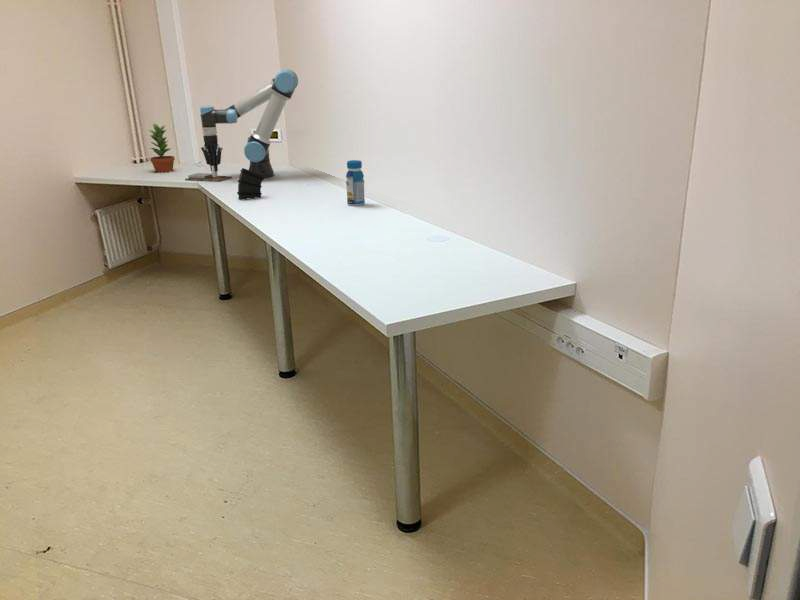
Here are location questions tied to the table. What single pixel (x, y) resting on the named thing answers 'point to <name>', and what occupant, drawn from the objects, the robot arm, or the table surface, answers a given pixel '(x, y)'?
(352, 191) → the beverage bottle
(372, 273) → the table surface
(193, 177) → the cover plate
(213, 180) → the brown wooden tray
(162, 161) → the potted plant
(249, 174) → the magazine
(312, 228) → the table surface
